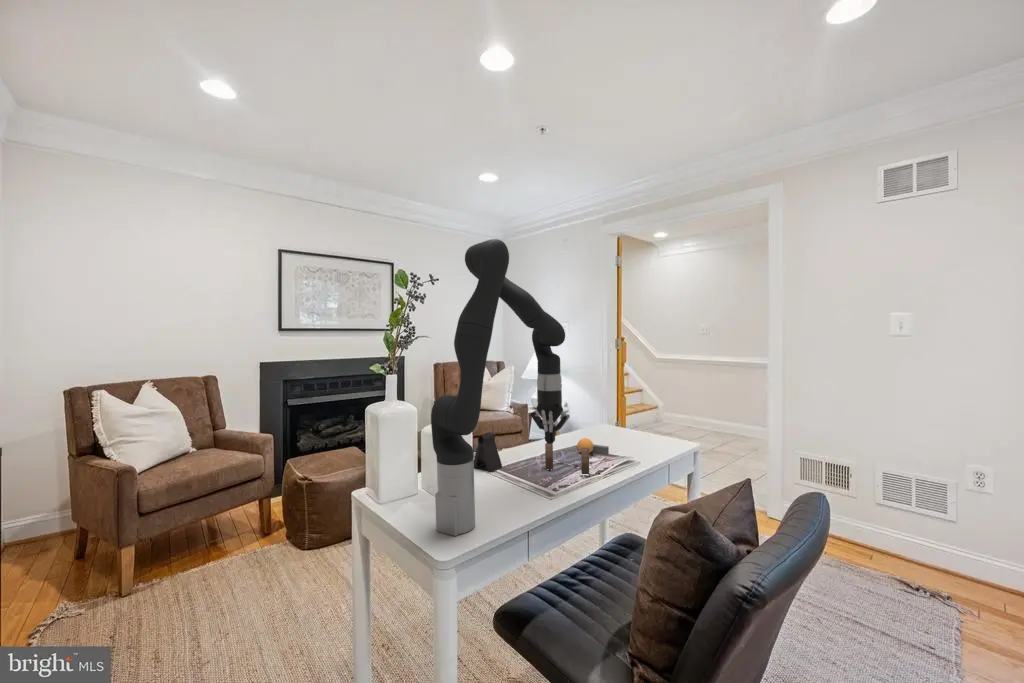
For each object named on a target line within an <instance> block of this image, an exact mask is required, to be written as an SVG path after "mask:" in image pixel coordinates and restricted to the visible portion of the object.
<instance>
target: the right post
mask: <svg viewBox="0 0 1024 683" xmlns="http://www.w3.org/2000/svg"><path fill="white" fill-rule="evenodd" d="M580 453H581V467H580V470H581V471H580V472H581V473H582V474H589V475H590V469H589V455H590V453H589V448H581V452H580Z"/></svg>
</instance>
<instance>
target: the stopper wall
mask: <svg viewBox="0 0 1024 683" xmlns="http://www.w3.org/2000/svg"><path fill="white" fill-rule="evenodd" d="M576 448H577V451H579V450H578V443H577V447H576ZM594 452H598V453H597V454H601V453H603V455H608V454H609V446H608V445H599V444H594V443H593V450H592V452H591V453H594Z"/></svg>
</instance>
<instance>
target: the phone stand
mask: <svg viewBox="0 0 1024 683" xmlns="http://www.w3.org/2000/svg"><path fill="white" fill-rule="evenodd" d="M501 460H502V459H501V458H500V454H499V450H498V447H497V443H496V435H495V433H494V432H487V433H485V434H483V435H480V436H478V438H477V448H476V451H475V455H474V470H480V471H483V472H488V473H491V472H492V473H493V471H494V472H495V470H496V471H498V470H500V469H502V468H503V464H502V461H501ZM497 469H498V470H497Z"/></svg>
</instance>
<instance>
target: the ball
mask: <svg viewBox="0 0 1024 683" xmlns="http://www.w3.org/2000/svg"><path fill="white" fill-rule="evenodd" d="M577 444H578V450H577V451H579V452H580V453H581V448H589V454H591V453H593V452H592V450H593V444H594V443H593V441H592V440H591V439H589V438H587V437H584V438H583V437H582V438H580V439H579V441H578V442H577Z"/></svg>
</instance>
